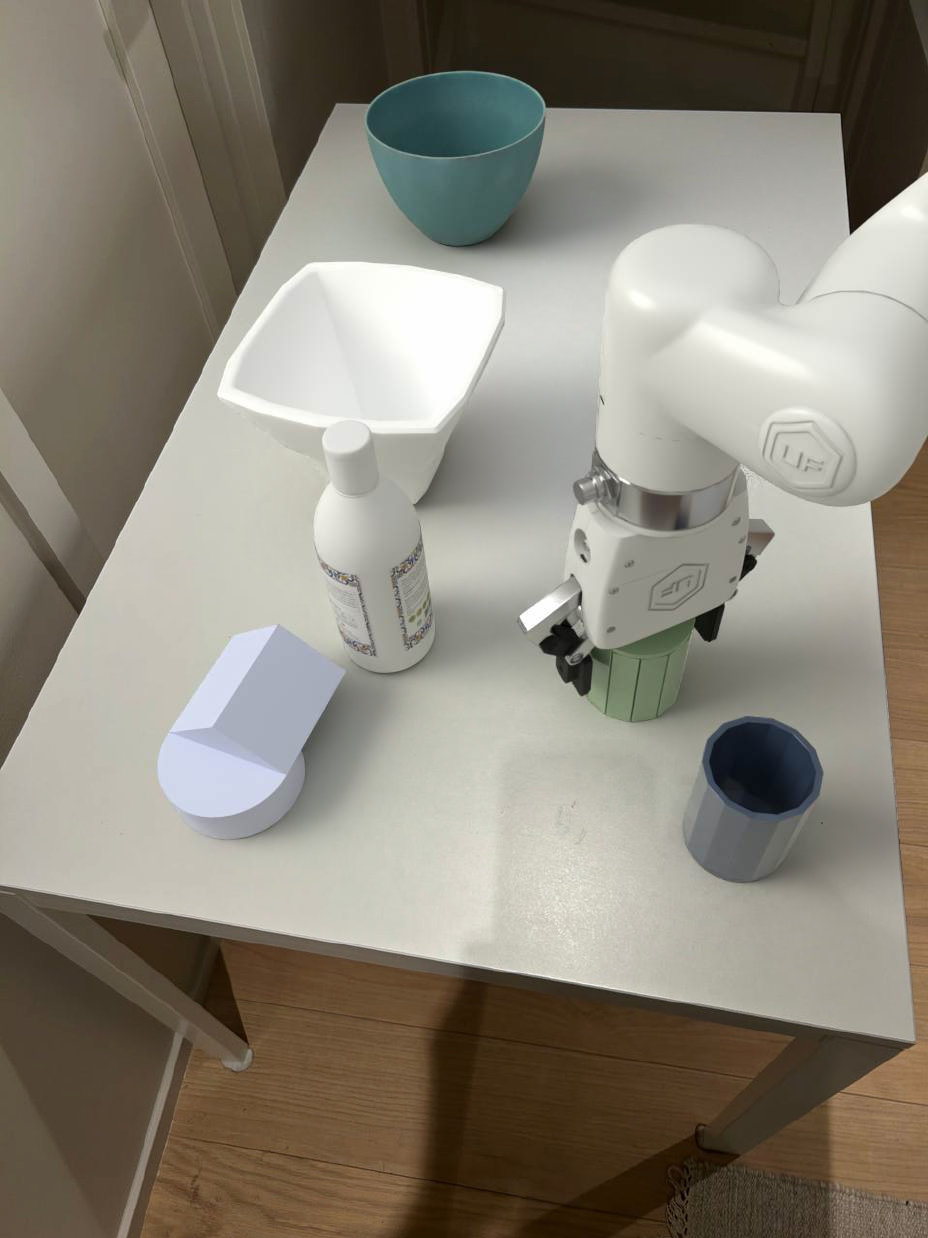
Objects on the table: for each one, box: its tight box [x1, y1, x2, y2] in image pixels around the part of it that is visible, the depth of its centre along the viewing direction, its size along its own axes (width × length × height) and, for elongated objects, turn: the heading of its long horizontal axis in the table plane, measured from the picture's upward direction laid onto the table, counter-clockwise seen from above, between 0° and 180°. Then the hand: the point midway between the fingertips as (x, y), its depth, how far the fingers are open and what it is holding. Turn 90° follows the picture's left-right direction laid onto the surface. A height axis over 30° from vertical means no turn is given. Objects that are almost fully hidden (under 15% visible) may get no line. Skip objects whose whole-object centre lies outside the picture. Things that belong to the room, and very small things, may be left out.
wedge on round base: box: [156, 623, 347, 841], centre depth 62 cm, size 9×7×13 cm
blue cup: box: [682, 715, 824, 883], centre depth 55 cm, size 6×6×9 cm
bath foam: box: [312, 420, 436, 674], centre depth 61 cm, size 7×7×20 cm
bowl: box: [217, 261, 507, 505], centre depth 74 cm, size 19×19×14 cm
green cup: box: [583, 617, 695, 723], centre depth 63 cm, size 7×7×8 cm
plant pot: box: [363, 70, 547, 247], centre depth 98 cm, size 18×18×12 cm
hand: (637, 652), depth 63 cm, fingers open, 9 cm apart
